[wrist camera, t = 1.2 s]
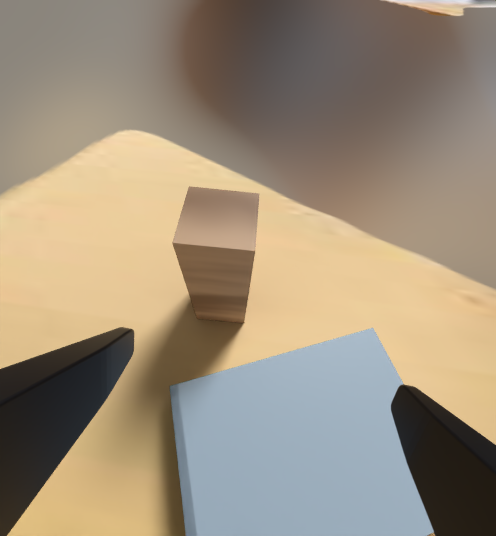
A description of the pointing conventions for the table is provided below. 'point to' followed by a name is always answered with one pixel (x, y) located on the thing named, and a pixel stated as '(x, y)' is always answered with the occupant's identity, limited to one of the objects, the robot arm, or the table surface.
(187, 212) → the brown wooden block
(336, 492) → the book
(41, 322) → the table surface
